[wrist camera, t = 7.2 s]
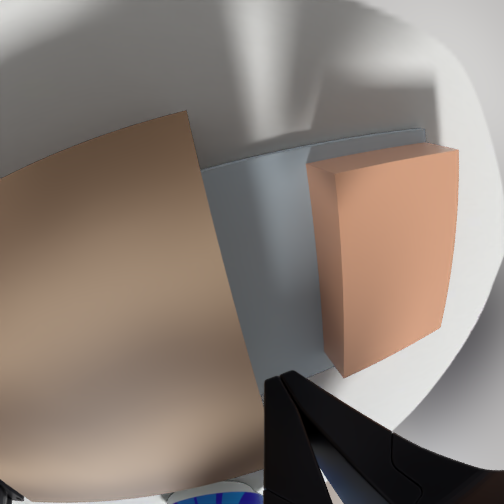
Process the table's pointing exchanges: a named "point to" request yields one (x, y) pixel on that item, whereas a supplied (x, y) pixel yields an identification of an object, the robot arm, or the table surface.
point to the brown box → (119, 326)
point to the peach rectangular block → (383, 248)
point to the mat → (279, 249)
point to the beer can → (217, 494)
